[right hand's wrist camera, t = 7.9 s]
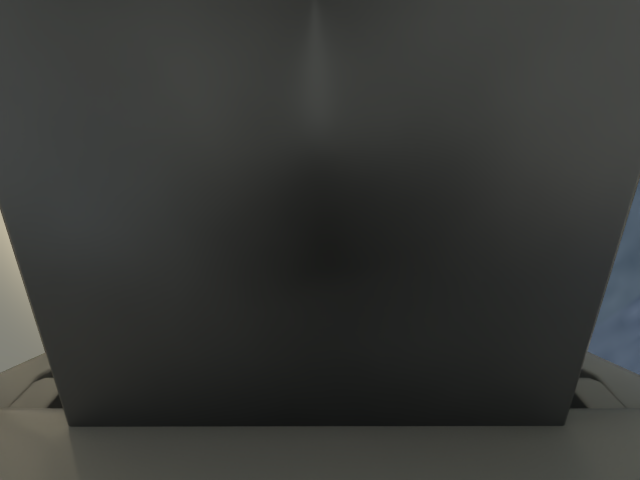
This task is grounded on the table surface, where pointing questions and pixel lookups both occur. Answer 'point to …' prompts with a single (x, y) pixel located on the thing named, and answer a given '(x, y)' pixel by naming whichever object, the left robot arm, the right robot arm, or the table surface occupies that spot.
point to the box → (317, 204)
